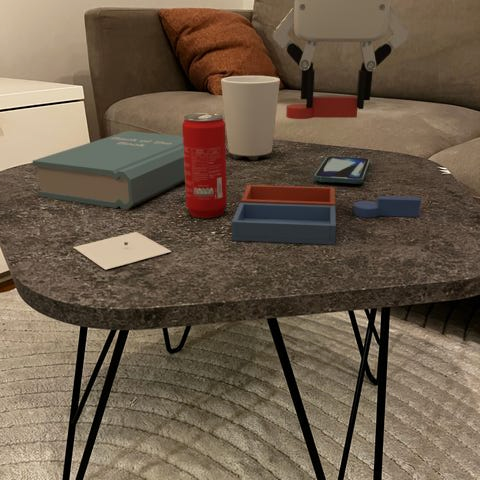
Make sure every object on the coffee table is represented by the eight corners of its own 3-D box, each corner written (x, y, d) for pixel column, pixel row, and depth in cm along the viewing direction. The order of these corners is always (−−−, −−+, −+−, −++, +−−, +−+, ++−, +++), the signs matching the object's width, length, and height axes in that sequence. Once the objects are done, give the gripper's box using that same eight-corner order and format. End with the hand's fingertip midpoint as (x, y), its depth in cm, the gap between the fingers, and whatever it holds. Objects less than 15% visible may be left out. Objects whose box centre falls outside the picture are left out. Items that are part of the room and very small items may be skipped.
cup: (267, 164, 99) (269, 83, 93) (213, 160, 102) (211, 81, 96) (285, 152, 107) (287, 76, 101) (234, 148, 110) (233, 74, 104)
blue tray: (334, 223, 73) (335, 205, 72) (334, 245, 66) (336, 225, 65) (239, 220, 74) (239, 202, 73) (231, 240, 68) (231, 221, 67)
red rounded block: (355, 114, 70) (357, 94, 69) (357, 119, 67) (358, 98, 66) (287, 114, 71) (287, 94, 70) (285, 119, 68) (285, 99, 67)
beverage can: (180, 216, 75) (174, 118, 70) (197, 205, 80) (193, 112, 74) (217, 221, 74) (214, 121, 68) (232, 209, 78) (231, 114, 72)
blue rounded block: (416, 211, 77) (418, 194, 76) (419, 219, 74) (422, 202, 73) (352, 209, 78) (353, 192, 77) (353, 217, 75) (354, 200, 74)
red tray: (333, 204, 80) (334, 187, 79) (333, 221, 73) (335, 203, 72) (247, 201, 81) (247, 184, 80) (240, 218, 75) (240, 200, 74)
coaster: (72, 247, 66) (71, 240, 66) (136, 231, 70) (135, 225, 70) (105, 269, 60) (104, 262, 60) (171, 251, 65) (171, 244, 64)
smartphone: (370, 158, 99) (363, 179, 86) (370, 164, 99) (362, 186, 86) (326, 155, 101) (312, 176, 88) (326, 161, 101) (312, 182, 88)
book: (129, 161, 102) (127, 131, 99) (212, 170, 96) (211, 138, 93) (38, 196, 84) (32, 160, 81) (133, 210, 78) (129, 172, 75)
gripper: (428, -78, 62) (405, 103, 71) (267, -76, 64) (264, 100, 73) (440, -87, 56) (413, 113, 64) (260, -85, 58) (258, 110, 66)
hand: (334, 105), depth 69 cm, fingers closed on red rounded block, 5 cm apart
